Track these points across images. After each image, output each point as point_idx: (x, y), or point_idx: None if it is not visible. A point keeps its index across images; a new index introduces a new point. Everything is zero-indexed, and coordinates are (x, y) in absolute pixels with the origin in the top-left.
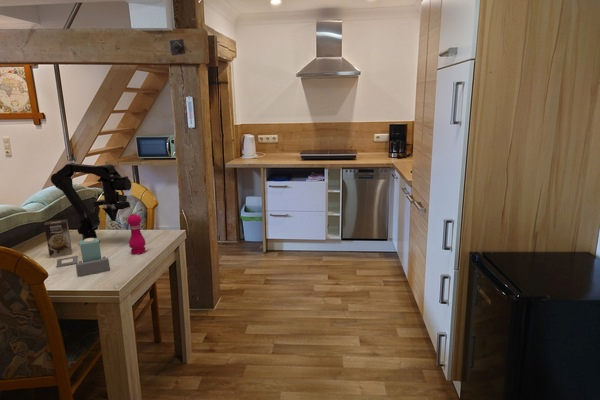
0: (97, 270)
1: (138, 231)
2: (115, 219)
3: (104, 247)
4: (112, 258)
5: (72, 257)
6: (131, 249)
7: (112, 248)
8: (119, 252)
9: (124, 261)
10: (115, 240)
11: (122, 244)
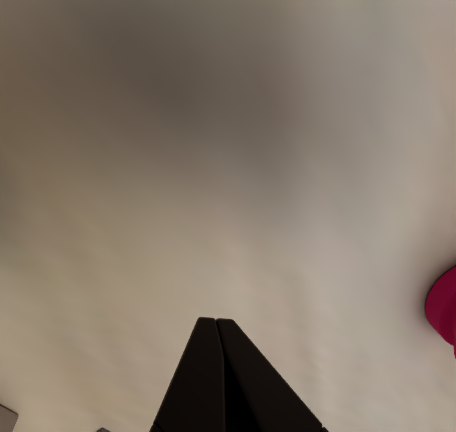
0: None
1: None
2: (246, 339)
3: (145, 268)
4: (346, 396)
5: None
6: (446, 333)
7: (231, 273)
8: (336, 322)
9: (435, 407)
10: (91, 80)
11: (254, 179)
